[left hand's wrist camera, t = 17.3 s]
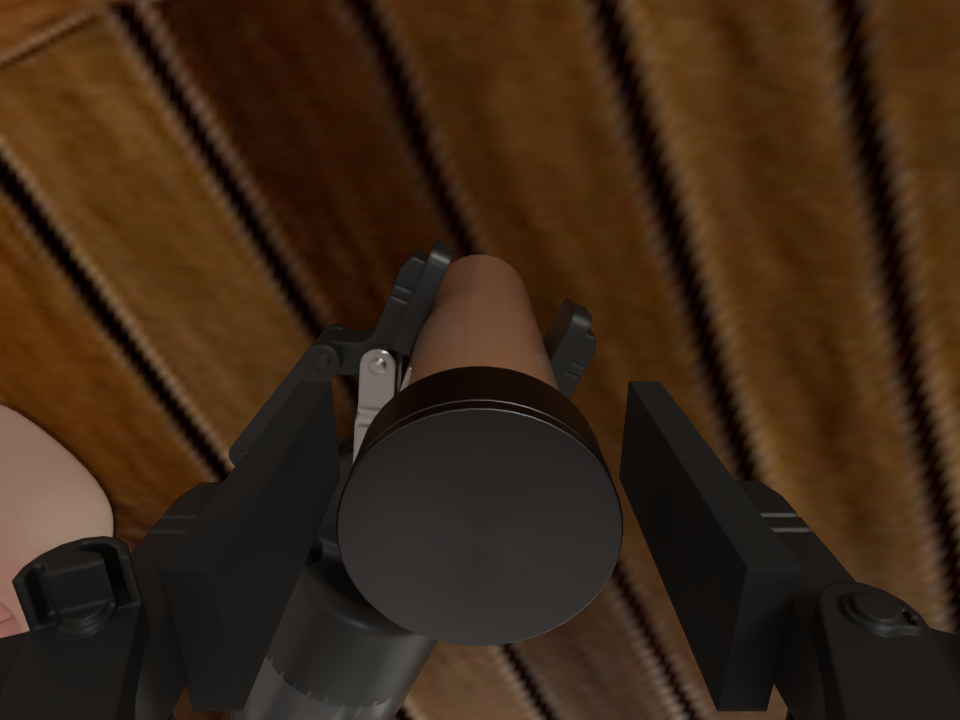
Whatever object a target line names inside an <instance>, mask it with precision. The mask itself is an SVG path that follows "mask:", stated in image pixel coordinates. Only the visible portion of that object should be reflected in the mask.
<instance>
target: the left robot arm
mask: <svg viewBox="0 0 960 720" xmlns="http://www.w3.org/2000/svg"><path fill="white" fill-rule="evenodd" d="M340 478H341V475H340V465H339V455H338V445H337V435H336V425H335V415H334V406H333V396H332V386H331V382H299V384H298V385H297V386H296V388H295V389H294V390H293V392H292V393H291V394H290V396H289V397H288V398H287V400H286V401H285V402H284V403H283V405H282V406H281V407H280V409H279V410H278V411H277V413H276V414H275V415H274V417H273V418H272V419H271V421H270V422H269V423H268V424H267V426H266V427H265V428H264V430H263V431H262V432H261V434H260V435H259V436H258V438H257V439H256V440H255V442H254V443H253V444H252V445H251V447H250V448H249V449H248V451H247V452H246V453H245V455H244V456H243V457H242V459H241V460H240V461H239V463H238V464H237V465H236V466H235V468H234V469H233V470H232V472H231V473H230V474H229V476H228V477H227V478H226V480H225V481H224V482H223V483H200V484H199V485H197V486H196V487H194V488H193V489H191V490H190V491H188V492H186V493H185V494H183V495H182V496H180V497H179V498H178V499H177V500H176V501H175V502H174V503H173V505H172V506H171V507H170V508H169V509H168V510H167V512H166V513H165V514H164V515H163V519H160V520H159V521H158V522H157V523H156V524H155V526H154V527H153V528H152V529H151V530H150V534H147V535H146V536H145V537H144V538H143V540H142V541H141V542H140V543H139V544H138V545H137V547H136V548H135V549H134V550H133V551H132V552H131V554H130V552H129V548H128V545H127V544H126V543H124V542H123V541H122V540H120V539H119V538H114V537H108V536H98V537H88V538H82V539H79V540H75V541H72V542H68V543H65V544H62V545H60V546H58V547H55V548H53V549H51V550H49V551H47V552H45V553H43V554H41V555H39V556H38V557H37V558H35V559H34V560H32V561H31V562H30V563H28V564H27V565H25V566H24V567H23V568H22V569H21V570H20V571H19V573H18V574H17V575H16V576H15V577H14V579H13V580H12V584H13V586H14V589H15V592H16V594H17V597H18V600H19V603H20V605H21V608H22V611H23V614H24V616H25V619H26V622H27V624H28V627H29V631H27V632H24V633H20V634H16V635H11V636H7V637H3V638H0V720H175V719H174V715H173V712H172V711H173V709H174V707H175V705H176V703H177V701H178V700H179V698H180V696H181V694H182V692H183V690H184V689H185V687H186V685H187V687H188V691H189V695H190V699H191V703H192V707H193V711H243V709H244V707H245V704H246V702H247V700H248V697H249V695H250V692H251V690H252V688H253V685H254V683H255V681H256V678H257V676H258V673H259V671H260V669H261V666H262V664H263V662H264V659H265V657H266V654H267V652H268V650H269V647H270V645H271V642H272V640H273V638H274V635H275V633H276V631H277V628H278V626H279V623H280V621H281V619H282V616H283V614H284V611H285V609H286V607H287V604H288V602H289V600H290V597H291V595H292V592H293V590H294V588H295V585H296V583H297V580H298V578H299V576H300V573H301V571H302V569H303V566H304V564H305V561H306V559H307V557H308V554H309V552H310V550H311V547H312V545H313V542H314V540H315V538H316V535H317V533H318V530H319V528H320V526H321V523H322V521H323V519H324V516H325V514H326V511H327V509H328V507H329V504H330V502H331V499H332V497H333V495H334V492H335V490H336V488H337V485H338V483H339V480H340ZM619 478H620V480H621V483H622V485H623V488H624V490H625V492H626V495H627V497H628V499H629V502H630V504H631V507H632V509H633V511H634V514H635V516H636V519H637V521H638V523H639V526H640V528H641V530H642V533H643V535H644V538H645V540H646V542H647V545H648V547H649V550H650V552H651V554H652V557H653V559H654V561H655V564H656V566H657V569H658V571H659V573H660V576H661V578H662V580H663V583H664V585H665V588H666V590H667V592H668V595H669V597H670V600H671V602H672V604H673V607H674V609H675V611H676V614H677V616H678V619H679V621H680V623H681V626H682V628H683V631H684V633H685V635H686V638H687V640H688V642H689V645H690V647H691V650H692V652H693V654H694V657H695V659H696V662H697V664H698V666H699V669H700V671H701V673H702V676H703V678H704V681H705V683H706V685H707V688H708V690H709V693H710V695H711V697H712V700H713V702H714V704H715V707H716V709H717V711H767V707H768V703H769V699H770V695H771V691H772V687H773V683H774V684H775V686H776V688H777V689H778V691H779V693H780V695H781V697H782V698H783V700H784V702H785V704H786V706H787V708H788V711H787V715H786V719H785V720H960V635H955V634H951V633H947V632H942V631H938V630H935V629H931V628H929V626H928V625H927V624H926V622H925V621H924V619H923V618H922V617H921V615H920V614H919V613H917V612H916V611H915V610H914V609H913V608H911V607H910V606H909V605H908V604H906V603H905V602H904V601H902V600H901V599H899V598H897V597H895V596H893V595H891V594H889V593H888V592H886V591H884V590H881V589H878V588H875V587H872V586H869V585H866V584H863V583H857V582H856V581H855V580H854V579H853V578H852V576H851V575H850V574H849V573H848V572H847V571H846V569H845V568H844V567H843V566H842V565H841V564H840V562H839V561H838V560H837V559H836V558H835V557H834V555H833V554H832V553H831V552H830V551H829V550H828V549H827V547H826V546H825V545H824V544H823V543H822V542H821V540H820V539H819V538H818V537H817V536H816V535H815V533H814V532H810V528H809V527H808V525H807V524H806V523H805V522H804V521H803V520H802V518H801V517H798V516H797V513H796V511H795V510H794V509H793V508H792V507H791V506H790V504H789V503H788V502H787V501H786V500H785V499H784V498H783V496H781V495H780V494H778V493H777V492H775V491H774V490H772V489H771V488H769V487H767V486H766V485H764V484H763V483H761V482H760V481H735V480H734V478H733V477H732V476H731V474H730V473H729V472H728V470H727V469H726V468H725V466H724V465H723V464H722V463H721V461H720V460H719V459H718V457H717V456H716V455H715V453H714V452H713V451H712V449H711V448H710V447H709V445H708V444H707V443H706V442H705V440H704V439H703V438H702V436H701V435H700V434H699V432H698V431H697V430H696V428H695V427H694V426H693V424H692V423H691V422H690V421H689V419H688V418H687V417H686V415H685V414H684V413H683V411H682V410H681V409H680V407H679V406H678V405H677V403H676V402H675V401H674V400H673V398H672V397H671V396H670V394H669V393H668V392H667V390H666V389H665V388H664V386H663V385H662V384H661V382H629V386H628V396H627V406H626V415H625V425H624V435H623V445H622V455H621V465H620V475H619Z"/></svg>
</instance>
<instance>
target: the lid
mask: <svg viewBox="0 0 960 720" xmlns="http://www.w3.org/2000/svg"><path fill="white" fill-rule="evenodd" d="M336 534H337V544H338V548H339V551H340V555H341V559H342V562H343V564H344V566H345V569H346V571H347V573H348V575H349V577H350V578H351V580H352V582H353V583H354V585H355V587H356V588H357V589H358V590H359V592H360V593H361V594H362V595H363V597H364V598H365V599H366V600H367V601H368V602H369V603H370V604H371V605H372V606H373V607H374V608H375V609H376V610H377V611H379V612H380V613H381V614H383V615H384V616H386V617H387V618H388V619H390V620H391V621H393V622H394V623H396V624H398V625H400V626H401V627H403V628H405V629H407V630H409V631H412V632H414V633H416V634H419V635H421V636H424V637H427V638H430V639H434V640H437V641H442V642H447V643H451V644H459V645H469V646H489V645H500V644H507V643H512V642H518V641H522V640H525V639H529V638H532V637H535V636H538V635H540V634H543V633H545V632H548V631H550V630H552V629H554V628H556V627H558V626H559V625H561V624H563V623H565V622H567V621H568V620H569V619H571V618H572V617H574V616H575V615H576V614H578V613H579V612H580V611H582V610H583V609H584V608H585V607H586V606H587V605H588V604H589V603H590V602H591V601H592V600H593V599H594V598H595V597H596V595H597V594H598V593H599V592H600V591H601V590H602V588H603V587H604V585H605V583H606V582H607V580H608V579H609V577H610V576H611V573H612V571H613V569H614V567H615V564H616V562H617V559H618V556H619V552H620V548H621V544H622V536H623V514H622V509H621V504H620V499H619V496H618V494H617V491H616V488H615V486H614V483H613V480H612V478H611V475H610V473H609V470H608V468H607V465H606V463H605V460H604V458H603V455H602V453H601V450H600V448H599V445H598V443H597V440H596V438H595V435H594V433H593V431H592V429H591V427H590V425H589V424H588V422H587V420H586V419H585V417H584V416H583V415H582V413H581V412H580V411H579V409H578V408H577V407H576V406H575V405H574V404H573V403H572V402H571V401H570V400H569V399H568V398H567V397H566V396H564V395H563V394H562V393H560V392H559V391H558V390H556V389H555V388H554V387H552V386H550V385H549V384H547V383H545V382H543V381H541V380H540V379H537V378H535V377H532V376H530V375H527V374H525V373H522V372H518V371H514V370H510V369H506V368H499V367H491V366H469V367H460V368H453V369H449V370H445V371H441V372H437V373H435V374H432V375H429V376H427V377H424V378H422V379H420V380H418V381H416V382H414V383H412V384H411V385H409V386H407V387H406V388H404V389H403V390H402V391H400V392H399V393H397V394H396V395H395V396H394V397H393V398H391V399H390V400H389V401H388V402H387V403H386V404H385V405H384V406H383V407H382V409H381V410H380V411H379V412H378V414H377V415H376V416H375V417H374V419H373V421H372V422H371V424H370V426H369V427H368V429H367V431H366V433H365V436H364V438H363V441H362V443H361V446H360V449H359V451H358V454H357V456H356V459H355V461H354V464H353V466H352V469H351V471H350V474H349V476H348V479H347V481H346V484H345V486H344V489H343V491H342V494H341V496H340V501H339V505H338V509H337V518H336Z"/></svg>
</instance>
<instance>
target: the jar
mask: <svg viewBox="0 0 960 720" xmlns="http://www.w3.org/2000/svg"><path fill="white" fill-rule="evenodd" d="M469 366H491V367H499V368H506V369H510V370H514V371H518V372H522V373H525V374H527V375H530V376H532V377H535V378H537V379H540V380H541V381H543V382H545V383H547V384H549V385H550V386H552V387H554V388H555V389H556V390H558V391H559V388H558V385H557V382H556V378H555V375H554V372H553V369H552V366H551V363H550V360H549V357H548V354H547V351H546V348H545V345H544V342H543V339H542V335H541V332H540V329H539V326H538V323H537V320H536V317H535V314H534V311H533V308H532V305H531V302H530V299H529V295H528V292H527V289H526V287H525V284H524V282H523V280H522V278H521V276H520V275H519V274H518V272H517V271H516V270H515V269H514V268H513V267H512V266H511V265H509V264H508V263H507V262H505V261H503V260H501V259H499V258H496V257H493V256H489V255H470V256H466V257H463V258H461V259H458V260H456V261H455V262H453V263H451V264H450V265H449V266H448V268H447V271H446V273H445V275H444V278H443V280H442V282H441V284H440V287H439V289H438V291H437V294H436V296H435V298H434V301H433V303H432V305H431V308H430V310H429V312H428V314H427V317H426V319H425V321H424V324H423V326H422V328H421V330H420V332H419V334H418V337H417V340H416V343H415V346H414V349H413V352H412V355H411V358H410V361H409V364H408V367H407V370H406V373H405V376H404V380H403V383H402V386H401V389H400V391H402V390H403V389H404V388H406V387H407V386H409V385H411V384H412V383H414V382H416V381H418V380H420V379H422V378H424V377H427V376H429V375H432V374H435V373H437V372H441V371H445V370H449V369H453V368H460V367H469ZM559 392H560V391H559Z"/></svg>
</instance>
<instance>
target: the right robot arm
mask: <svg viewBox="0 0 960 720" xmlns="http://www.w3.org/2000/svg"><path fill="white" fill-rule="evenodd" d="M454 249H455V247H453V246H451V245H448V244H446V243H444V242H442V241H440V240H437V239H436V242H435V244H434V246H433V248H432V251H431V253H430V255H429V254H427V253H425V252H423V251H420V250H418V249H416V250H415V251H414V252H413V253H412V254H411V255H410V256H409V257H408V258H407V259H406V260H405V262H404V264H403V265H402V267H401V268H400V271H399V273H398V276H397V278H396V281H395V283H394V286H393V288H392V291H391V293H390V296H389V298H388V301H387V303H386V306H385V308H384V311H383V313H382V316H381V318H380V320H379V323H378V325H377V326H376V327H374V328H372V329H370V330H350V329H349V328H348V327H346V326H345V325H342V324H332V325H330V326H328V327H327V328H326V329H325V330H324V331H323V332H322V334H321V335H320V336H319V337H318V339H317V340H316V341H315V343H314V344H313V345H312V346H311V347H310V348H309V349H308V350H307V351H306V353H305V354H304V355H303V357H302V358H301V359H300V360H299V362H298V363H297V364H296V365H295V367H294V368H293V369H292V370H291V372H290V373H289V374H288V375H287V377H286V378H285V379H284V381H283V382H282V383H281V384H280V386H279V387H278V388H277V389H276V391H275V392H274V393H273V394H272V396H271V397H270V398H269V400H268V401H267V402H266V403H265V405H264V406H263V407H262V408H261V410H260V411H259V412H258V413H257V415H256V416H255V417H254V418H253V420H252V421H251V422H250V424H249V425H248V426H247V427H246V429H245V430H244V431H243V432H242V434H241V435H240V436H239V437H238V439H237V440H236V441H235V442H234V444H233V445H232V446H231V448H230V450H229V458H230V460H231V462H232V463H233V464H234V465H235V466H236V465H237V464H238V463H239V461H240V460H241V459H242V457H243V456H244V455H245V453H246V452H247V451H248V449H249V448H250V447H251V445H252V444H253V443H254V442H255V440H256V439H257V438H258V436H259V435H260V434H261V432H262V431H263V430H264V428H265V427H266V426H267V424H268V423H269V422H270V421H271V419H272V418H273V417H274V415H275V414H276V413H277V411H278V410H279V409H280V407H281V406H282V405H283V403H284V402H285V401H286V400H287V398H288V397H289V396H290V394H291V393H292V392H293V390H294V389H295V388H296V386H297V385H298V384H299V382H329V381H330V380H331V379H332V377H333V376H334V375H335V374H340V375H354V376H359V398H358V411H357V415H356V420H355V429H354V434H353V435H351V436H349V437H348V438H346V439H344V440H342V441H340V442H338V443H337V445H338V455H339V465H340V475H341V478H340V480H339V483H338V485H337V488H336V490H335V492H334V495H333V497H332V499H331V502H330V504H329V507H328V509H327V511H326V514H325V516H324V519H323V521H322V523H321V526H320V528H319V530H318V533H317V535H316V538H315V540H314V542H313V545H312V547H311V550H310V552H309V554H308V557H307V559H306V561H305V564H304V566H303V569H302V571H301V573H300V576H299V578H298V580H297V583H296V585H295V588H294V590H293V592H292V595H291V597H290V600H289V602H288V604H287V607H286V609H285V611H284V614H283V616H282V619H281V621H280V623H279V626H278V628H277V631H276V633H275V635H274V638H273V640H272V642H271V645H270V647H269V650H268V652H267V654H266V657H265V659H264V662H263V664H262V666H261V669H260V671H259V673H258V676H257V678H256V681H255V683H254V685H253V688H252V690H251V692H250V695H249V697H248V700H247V702H246V704H245V707H244V709H243V711H223V713H222V715H221V718H220V720H393V718H394V716H395V715H396V713H397V712H398V710H399V709H400V707H401V705H402V704H403V702H404V700H405V698H406V696H407V695H408V693H409V691H410V689H411V687H412V686H413V684H414V682H415V680H416V678H417V677H418V675H419V673H420V671H421V670H422V668H423V666H424V664H425V662H426V661H427V659H428V657H429V655H430V653H431V652H432V650H433V648H434V646H435V645H436V643H437V640H434V639H430V638H427V637H424V636H421V635H419V634H416V633H414V632H412V631H409V630H407V629H405V628H403V627H401V626H400V625H398V624H396V623H394V622H393V621H391V620H390V619H388V618H387V617H386V616H384V615H383V614H381V613H380V612H379V611H377V610H376V609H375V608H374V607H373V606H372V605H371V604H370V603H369V602H368V601H367V600H366V599H365V598H364V597H363V595H362V594H361V593H360V592H359V590H358V589H357V588H356V587H355V585H354V583H353V582H352V580H351V578H350V577H349V575H348V573H347V571H346V569H345V566H344V564H343V562H342V559H341V555H340V551H339V548H338V544H337V534H336V518H337V509H338V505H339V501H340V496H341V494H342V491H343V489H344V486H345V484H346V481H347V479H348V476H349V474H350V471H351V469H352V466H353V464H354V461H355V459H356V456H357V454H358V451H359V449H360V446H361V443H362V441H363V438H364V436H365V433H366V431H367V429H368V427H369V426H370V424H371V422H372V421H373V419H374V417H375V416H376V415H377V414H378V412H379V411H380V410H381V409H382V407H383V406H384V405H385V404H386V403H387V402H388V401H389V400H390V399H391V398H393V397H394V396H395V395H396V394H397V393H399V392H400V389H401V386H402V372H403V358H404V355H406V356H408V357H409V356H410V354H411V351H412V349H413V347H414V344H415V342H416V340H417V337H418V334H419V332H420V330H421V328H422V326H423V324H424V321H425V319H426V317H427V314H428V312H429V310H430V308H431V305H432V303H433V301H434V298H435V296H436V294H437V291H438V289H439V287H440V284H441V282H442V280H443V278H444V275H445V273H446V271H447V268H448V266H449V264H450V261H451V259H452V256H453V253H454ZM591 321H592V317H591V315H590V314H589V312H588V311H587V309H586V308H585V306H582V305H580V304H578V303H576V302H574V301H571V300H569V299H566V300H565V301H564V302H563V303H562V305H561V307H560V309H559V310H558V312H557V314H556V316H555V318H554V320H553V322H552V324H551V326H550V328H549V330H548V332H547V334H546V335H545V337H544V339H543V342H544V345H545V348H546V351H547V354H548V357H549V360H550V363H551V366H552V369H553V372H554V375H555V378H556V382H557V385H558V388H559V391H560V393H562V394H563V395H564V396H566V397H567V398H568V399H569V398H570V396H571V395H572V393H573V391H574V389H575V387H576V386H577V384H578V382H579V380H580V378H581V376H582V375H583V373H584V371H585V369H586V367H587V366H588V364H589V362H590V361H591V359H592V357H593V355H594V353H595V345H596V337H595V335H594V334H593V332H592V330H591V329H590V325H591Z"/></svg>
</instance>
